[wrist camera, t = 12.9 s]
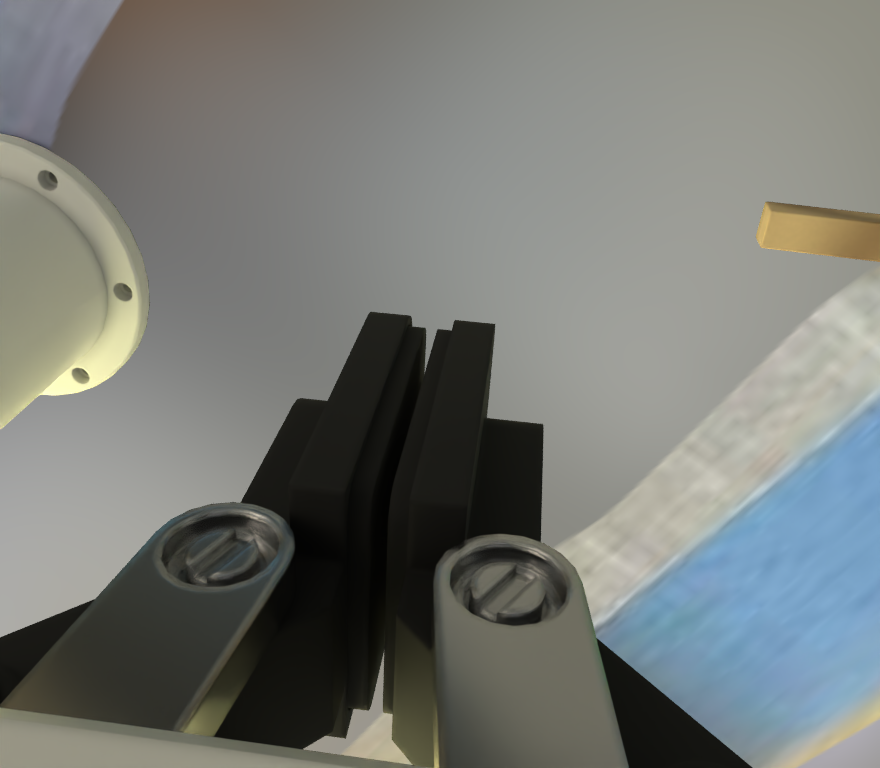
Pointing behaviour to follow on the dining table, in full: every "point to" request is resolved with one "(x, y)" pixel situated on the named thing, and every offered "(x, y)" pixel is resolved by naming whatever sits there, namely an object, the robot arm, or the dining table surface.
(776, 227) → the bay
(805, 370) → the dining table surface
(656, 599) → the dining table surface
